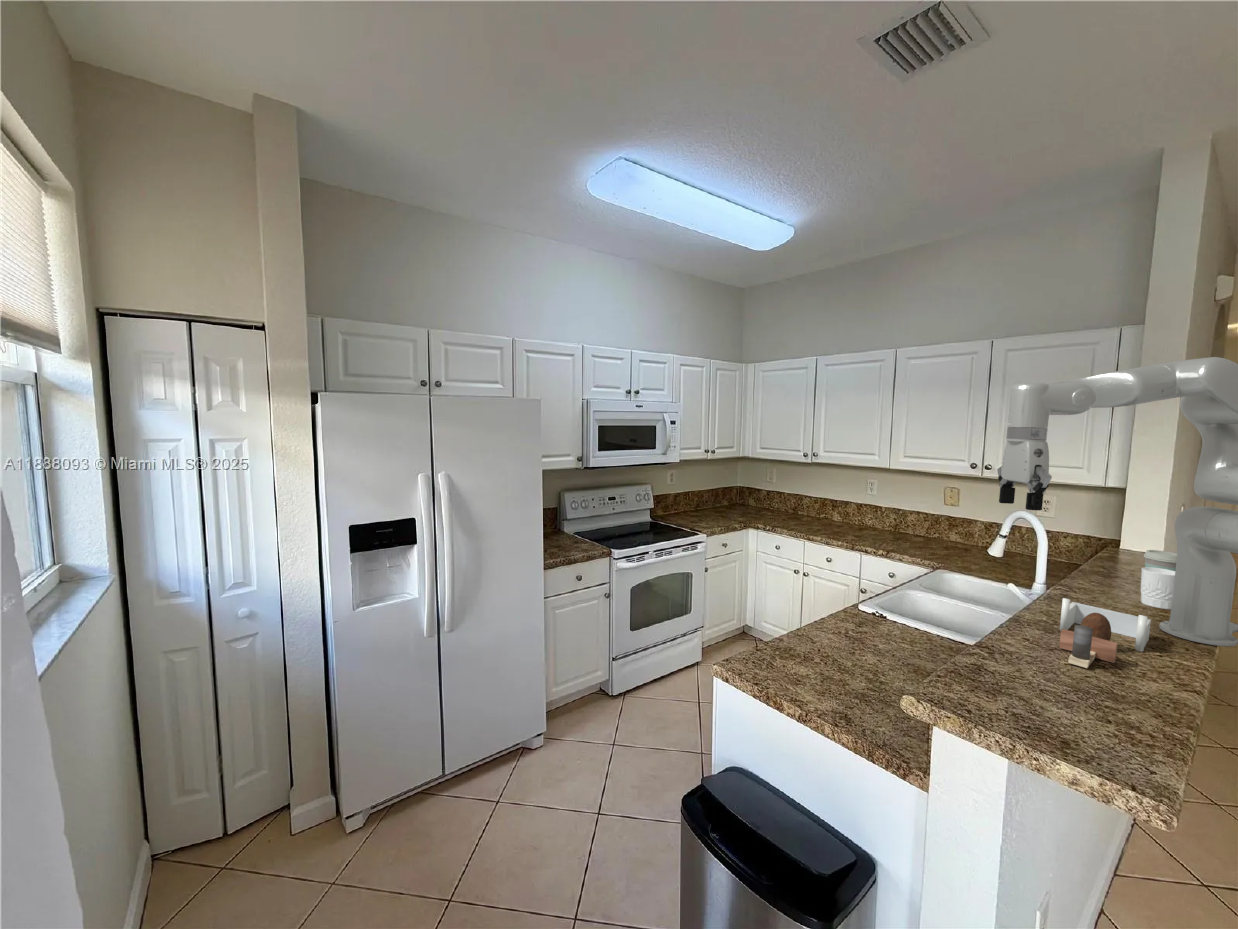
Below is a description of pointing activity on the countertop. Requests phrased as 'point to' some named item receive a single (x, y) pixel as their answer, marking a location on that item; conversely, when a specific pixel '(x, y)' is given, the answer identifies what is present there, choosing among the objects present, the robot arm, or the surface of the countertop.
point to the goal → (1117, 620)
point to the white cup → (1157, 587)
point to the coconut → (1098, 625)
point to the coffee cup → (1160, 559)
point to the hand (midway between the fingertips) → (1019, 506)
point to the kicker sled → (1086, 646)
